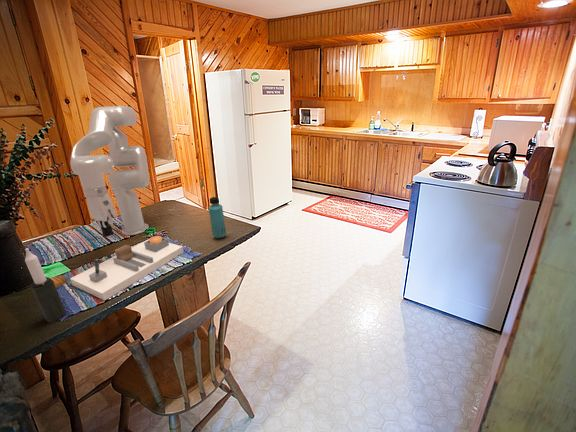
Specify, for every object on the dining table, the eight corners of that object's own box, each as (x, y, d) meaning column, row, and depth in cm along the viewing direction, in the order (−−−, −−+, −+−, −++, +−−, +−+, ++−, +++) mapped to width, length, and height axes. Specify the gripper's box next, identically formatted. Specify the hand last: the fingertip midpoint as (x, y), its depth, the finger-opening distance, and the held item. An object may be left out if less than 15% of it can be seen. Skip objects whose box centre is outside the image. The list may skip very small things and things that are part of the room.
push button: (148, 247, 133) (146, 239, 131) (158, 242, 137) (156, 234, 135) (156, 250, 130) (154, 242, 129) (165, 245, 134) (164, 237, 133)
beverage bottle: (223, 241, 142) (218, 200, 135) (210, 240, 144) (204, 200, 136) (229, 234, 148) (223, 195, 140) (216, 234, 150) (210, 195, 142)
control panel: (72, 285, 115) (67, 271, 112) (153, 243, 143) (150, 231, 141) (104, 300, 105) (99, 286, 103) (183, 252, 134) (181, 240, 132)
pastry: (61, 277, 120) (58, 269, 119) (71, 282, 117) (67, 274, 115) (34, 291, 113) (30, 282, 111) (43, 296, 110) (39, 287, 108)
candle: (61, 308, 102) (33, 242, 93) (67, 314, 100) (40, 246, 90) (43, 317, 99) (12, 249, 89) (49, 323, 96) (18, 254, 86)
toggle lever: (92, 272, 111) (92, 259, 107) (98, 270, 113) (97, 256, 109) (96, 276, 111) (96, 262, 107) (101, 273, 113) (101, 259, 109)
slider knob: (117, 261, 123) (114, 250, 121) (129, 255, 127) (125, 244, 125) (122, 262, 122) (119, 251, 120) (133, 256, 126) (130, 246, 124)
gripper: (116, 191, 116) (128, 234, 123) (94, 187, 123) (106, 228, 130) (97, 196, 110) (110, 242, 117) (74, 192, 117) (88, 235, 124)
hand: (108, 235), depth 123 cm, fingers closed
